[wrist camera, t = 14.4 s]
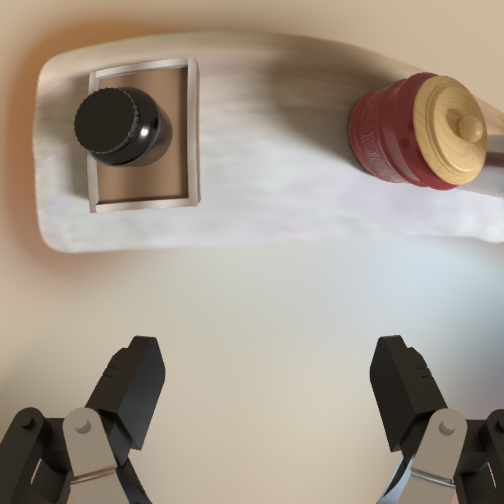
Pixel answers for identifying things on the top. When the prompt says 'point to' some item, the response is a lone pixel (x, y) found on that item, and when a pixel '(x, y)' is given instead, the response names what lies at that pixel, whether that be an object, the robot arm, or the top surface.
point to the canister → (420, 132)
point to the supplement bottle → (123, 127)
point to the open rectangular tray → (177, 156)
